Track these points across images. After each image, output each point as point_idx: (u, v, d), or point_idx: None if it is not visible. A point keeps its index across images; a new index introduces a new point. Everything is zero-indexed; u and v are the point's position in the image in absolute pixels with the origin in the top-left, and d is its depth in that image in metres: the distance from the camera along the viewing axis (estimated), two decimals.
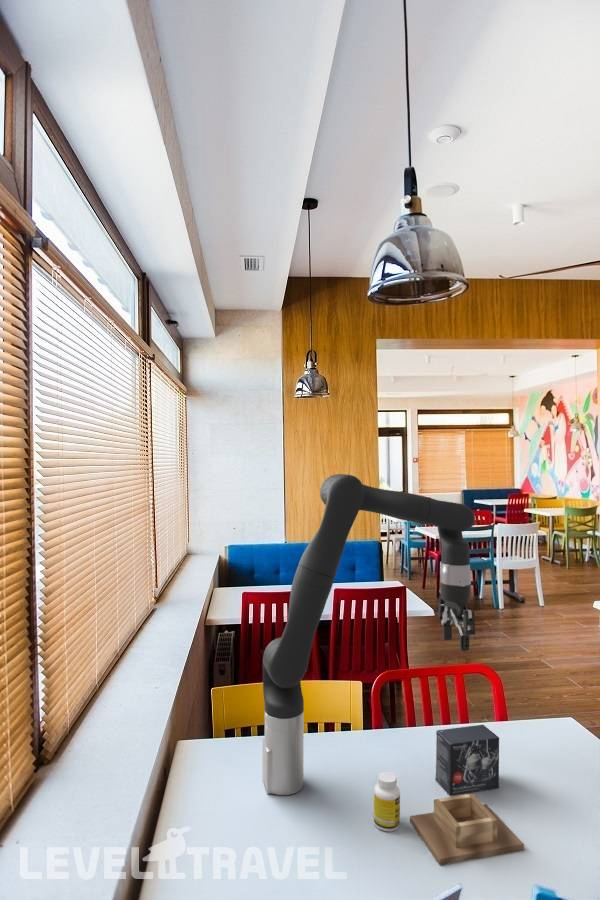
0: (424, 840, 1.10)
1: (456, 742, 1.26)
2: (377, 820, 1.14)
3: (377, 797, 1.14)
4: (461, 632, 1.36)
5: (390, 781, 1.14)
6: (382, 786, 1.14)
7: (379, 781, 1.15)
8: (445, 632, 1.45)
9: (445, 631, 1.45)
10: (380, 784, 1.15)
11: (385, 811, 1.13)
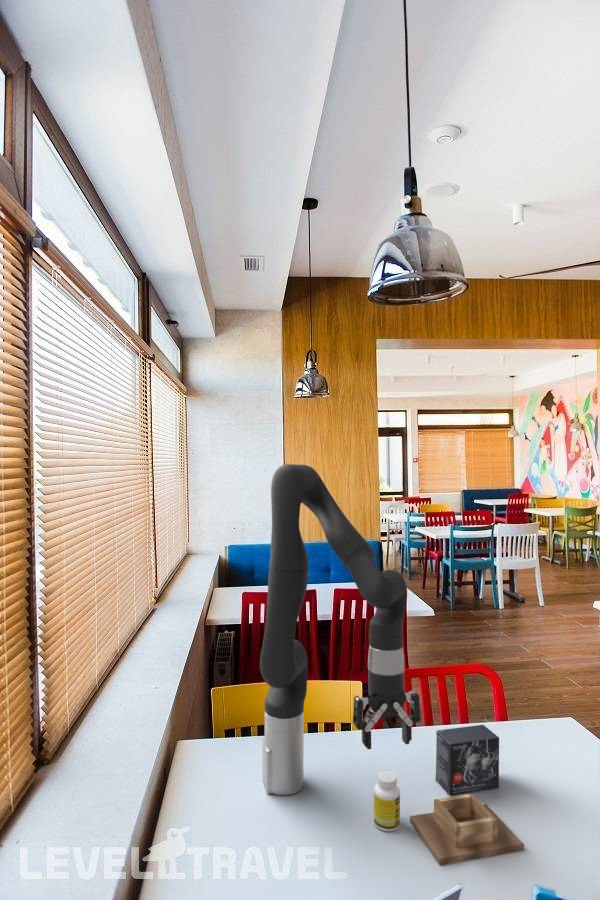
0: (424, 840, 1.10)
1: (456, 742, 1.26)
2: (377, 820, 1.14)
3: (377, 797, 1.14)
4: (410, 722, 1.16)
5: (390, 781, 1.14)
6: (382, 786, 1.14)
7: (379, 781, 1.15)
8: None
9: None
10: (380, 784, 1.15)
11: (385, 811, 1.13)
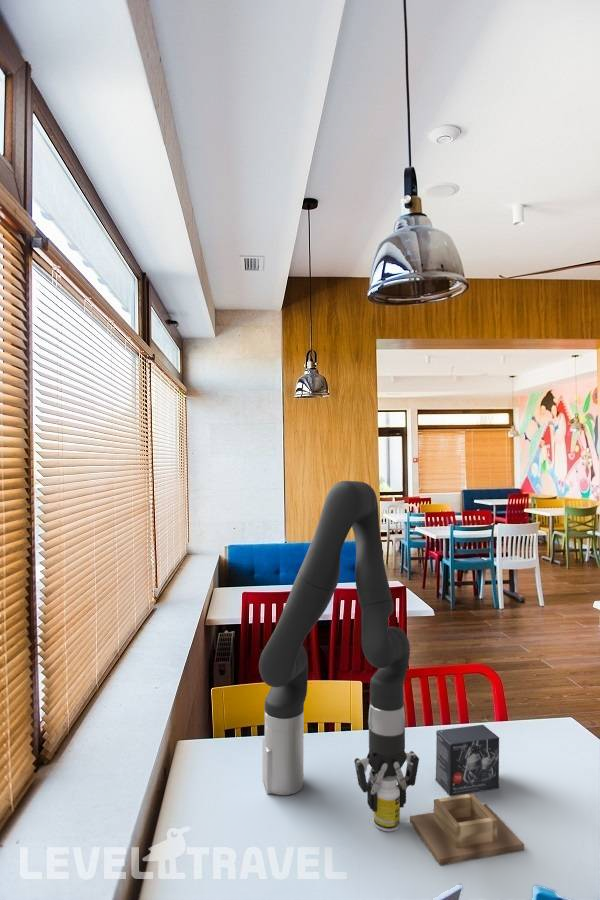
0: (424, 840, 1.10)
1: (456, 742, 1.26)
2: (377, 820, 1.14)
3: (377, 797, 1.14)
4: (405, 785, 1.15)
5: (390, 781, 1.14)
6: (382, 786, 1.14)
7: None
8: None
9: None
10: (380, 784, 1.15)
11: (385, 811, 1.13)
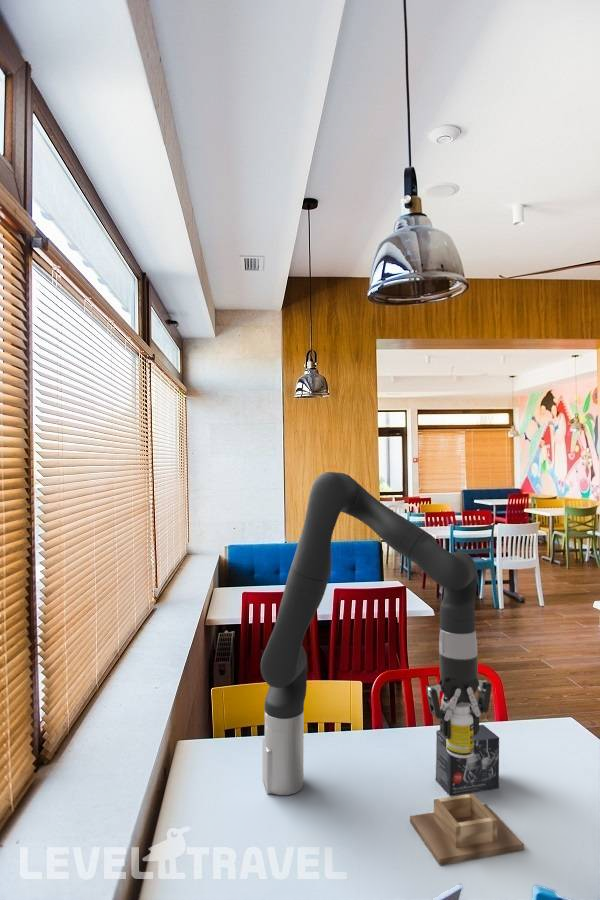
0: (424, 840, 1.10)
1: None
2: (451, 747, 1.11)
3: (451, 724, 1.11)
4: (478, 712, 1.12)
5: (464, 707, 1.11)
6: (455, 712, 1.11)
7: None
8: None
9: None
10: (453, 711, 1.12)
11: (460, 737, 1.10)
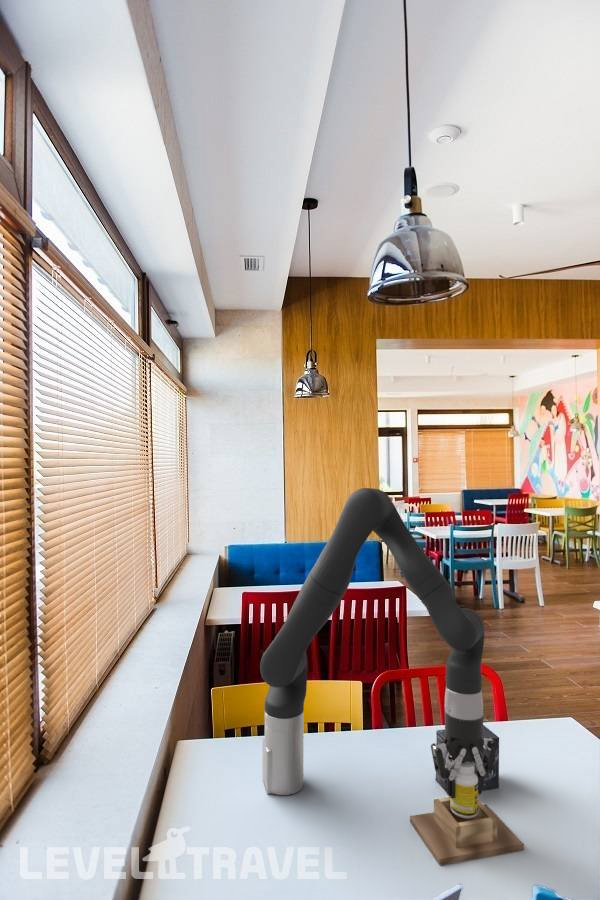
0: (424, 840, 1.10)
1: None
2: (456, 807, 1.10)
3: (456, 783, 1.11)
4: (483, 771, 1.12)
5: (469, 767, 1.11)
6: (460, 772, 1.11)
7: None
8: None
9: None
10: (458, 770, 1.11)
11: (464, 798, 1.10)
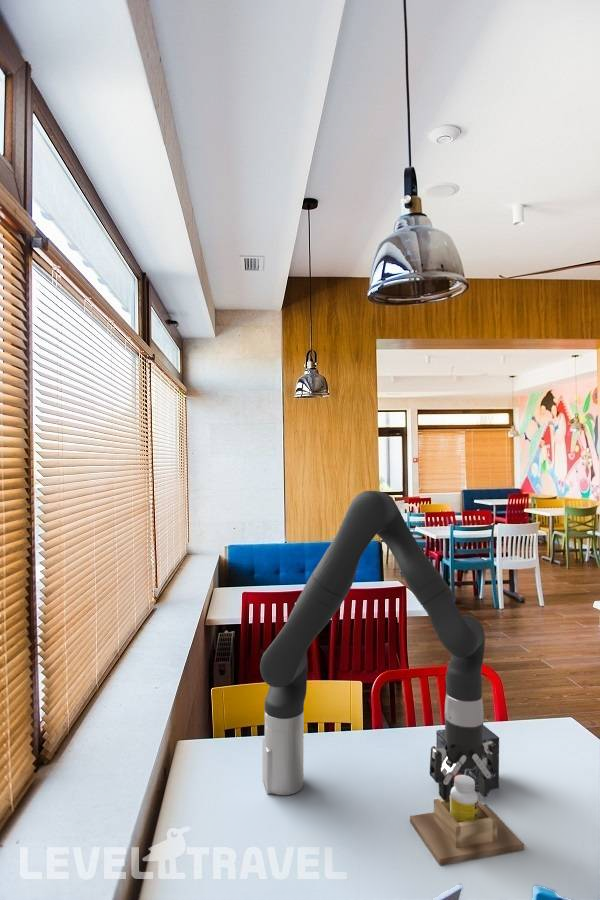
0: (424, 840, 1.10)
1: None
2: None
3: (456, 801, 1.11)
4: (489, 774, 1.12)
5: (469, 785, 1.11)
6: (461, 790, 1.11)
7: (457, 785, 1.11)
8: None
9: None
10: (458, 788, 1.11)
11: (464, 816, 1.10)
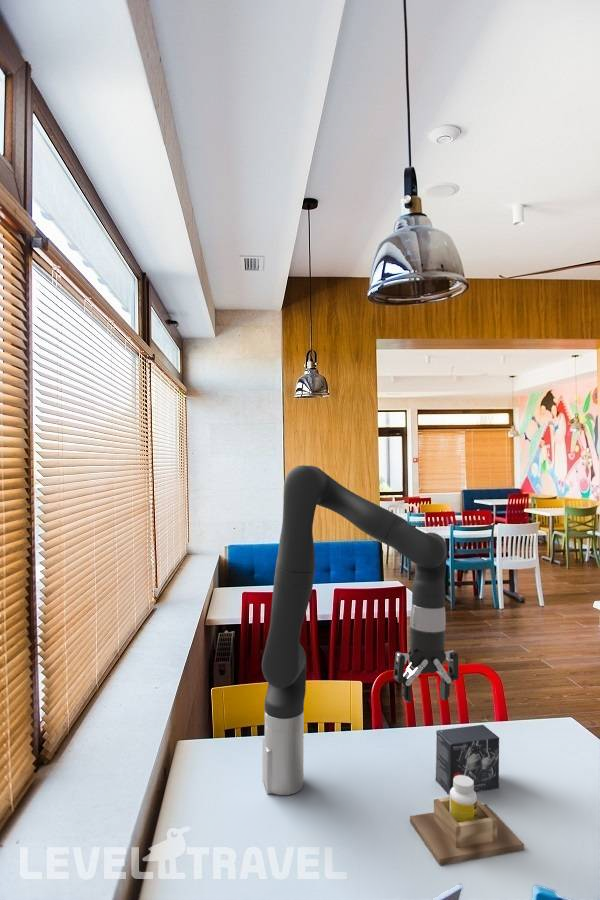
0: (424, 840, 1.10)
1: (456, 742, 1.26)
2: None
3: (455, 802, 1.10)
4: (449, 679, 1.20)
5: (468, 785, 1.11)
6: (460, 790, 1.11)
7: (456, 785, 1.11)
8: None
9: None
10: (457, 788, 1.11)
11: (464, 816, 1.10)
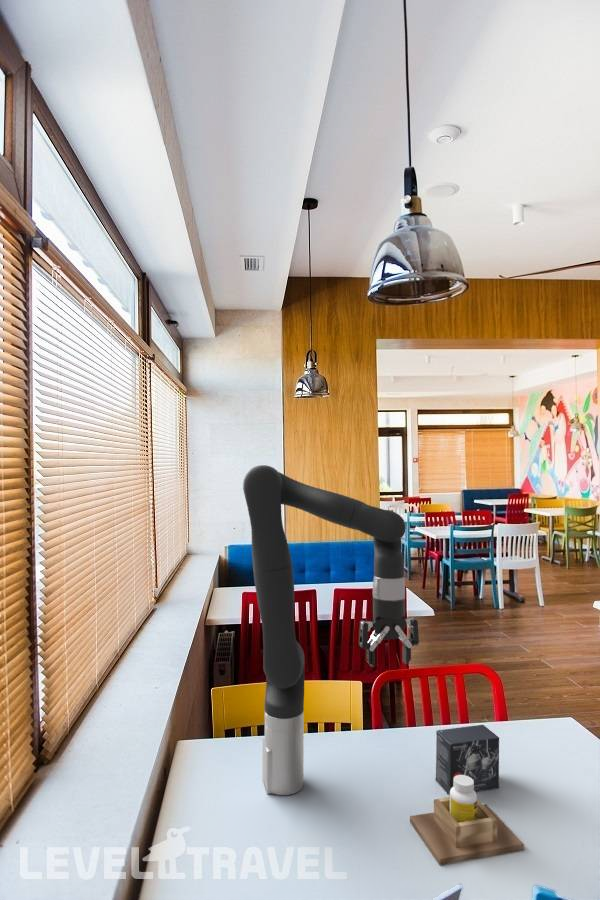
0: (424, 840, 1.10)
1: (456, 742, 1.26)
2: None
3: (455, 801, 1.11)
4: (410, 644, 1.30)
5: (468, 784, 1.11)
6: (460, 790, 1.11)
7: (456, 785, 1.11)
8: None
9: None
10: (458, 788, 1.11)
11: (464, 816, 1.10)
